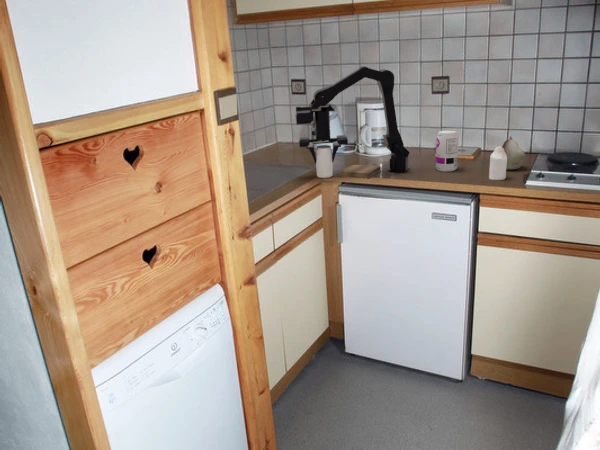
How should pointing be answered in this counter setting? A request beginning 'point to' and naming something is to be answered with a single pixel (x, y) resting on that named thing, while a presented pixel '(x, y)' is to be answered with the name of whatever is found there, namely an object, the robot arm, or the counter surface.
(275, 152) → the counter surface
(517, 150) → the fruit
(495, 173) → the white bottle
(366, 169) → the base
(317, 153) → the can
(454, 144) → the supplement can
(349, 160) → the counter surface
